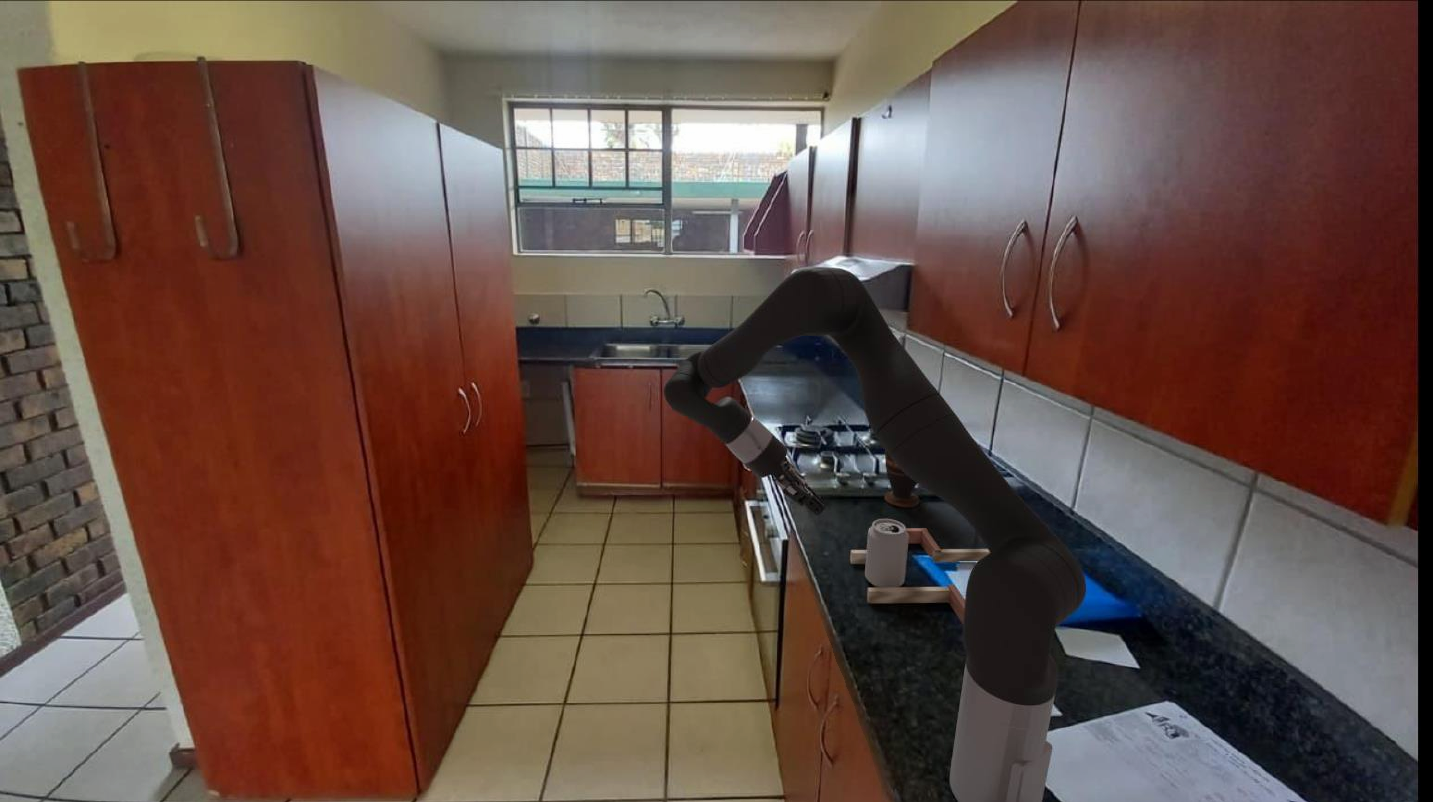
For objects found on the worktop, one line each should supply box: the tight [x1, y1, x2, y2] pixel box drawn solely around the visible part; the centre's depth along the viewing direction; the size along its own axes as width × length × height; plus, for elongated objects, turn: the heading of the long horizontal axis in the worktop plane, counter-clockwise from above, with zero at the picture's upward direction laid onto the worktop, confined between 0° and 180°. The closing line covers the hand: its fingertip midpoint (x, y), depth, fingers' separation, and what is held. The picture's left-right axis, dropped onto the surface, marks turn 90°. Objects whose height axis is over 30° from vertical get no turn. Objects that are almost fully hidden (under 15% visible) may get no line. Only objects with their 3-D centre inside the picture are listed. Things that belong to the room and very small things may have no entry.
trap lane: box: [849, 527, 990, 625], centre depth 114 cm, size 33×30×3 cm
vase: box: [884, 448, 920, 509], centre depth 144 cm, size 11×11×30 cm
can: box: [864, 518, 909, 588], centre depth 113 cm, size 8×8×12 cm
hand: (819, 506), depth 110 cm, fingers open, 3 cm apart
